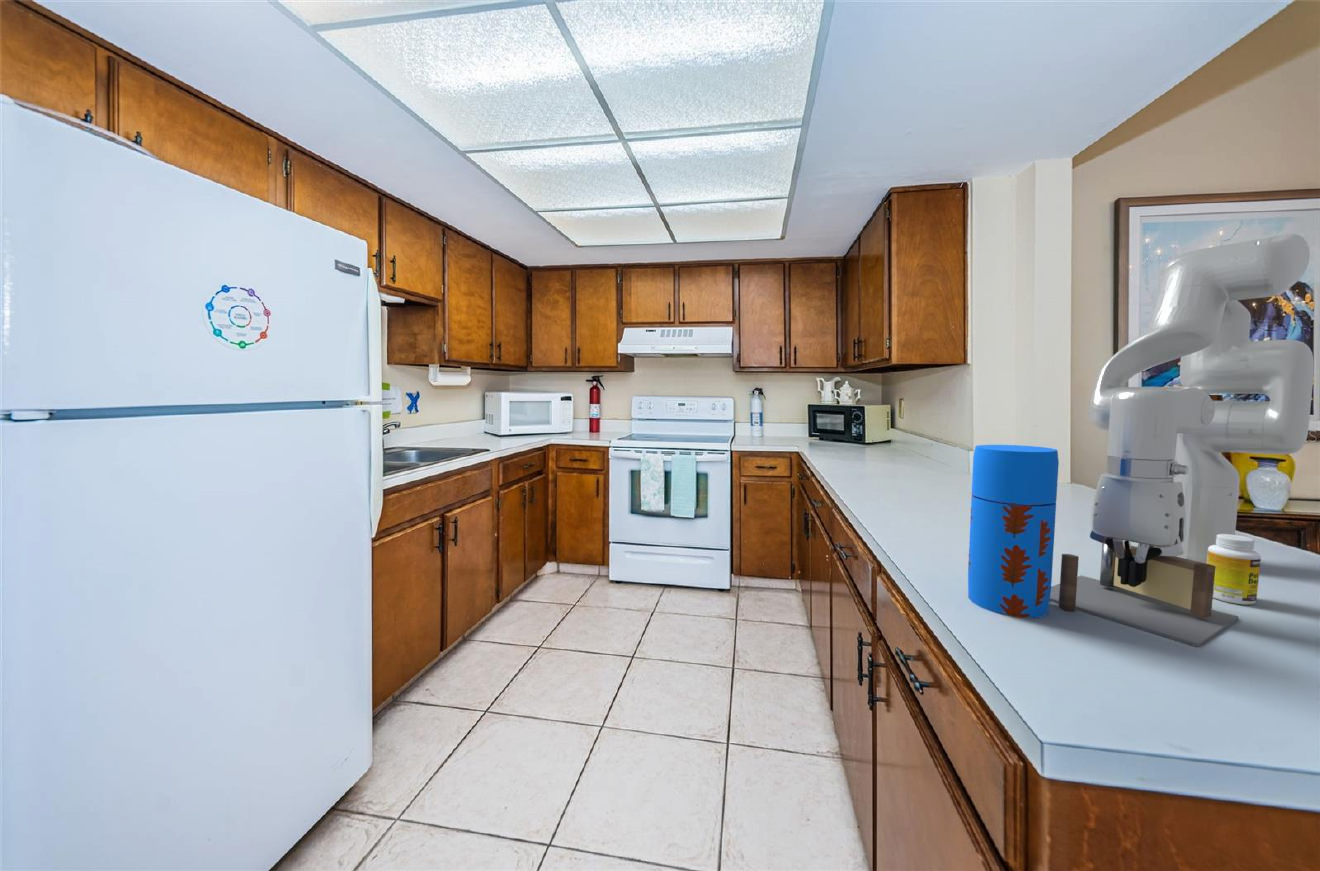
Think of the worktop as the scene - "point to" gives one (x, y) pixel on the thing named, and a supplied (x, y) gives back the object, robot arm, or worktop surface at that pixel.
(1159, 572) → the gate
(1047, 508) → the thermos
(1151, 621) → the gate frame
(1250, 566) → the supplement bottle
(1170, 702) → the worktop surface
